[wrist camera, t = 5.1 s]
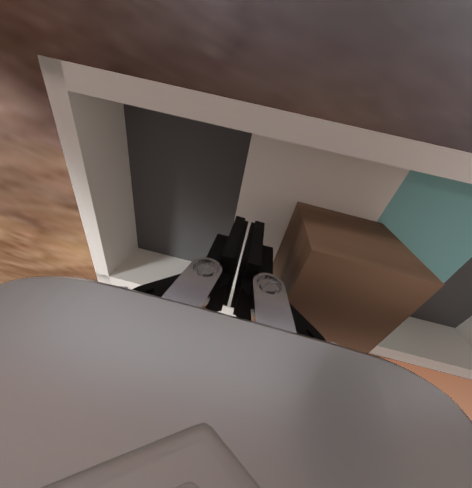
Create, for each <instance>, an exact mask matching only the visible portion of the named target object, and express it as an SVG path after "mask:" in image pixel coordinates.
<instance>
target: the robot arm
mask: <svg viewBox="0 0 472 488" xmlns="http://www.w3.org/2000/svg"><path fill="white" fill-rule="evenodd" d="M245 219H246V218H243V217H239V216H236V218H235V221H234V224H233V226H232V229H231V231H230V234H229V236H226V235H222V234H217V236H216V238H215V240H214V242H213V244H212V246H211V248H210V250H209V252H208V255H207V257H202V258H197V259H195V260H193V261H192V262H191V263H190V264H189V265H188V267H187V268H186V269H185V270H184V271H183V272H182V273H181V274H178V275H174V276H171V277H167V278H164V279H161V280H157V281H154V282H151V283H147V284H144V285H140V286H138V287H136V288H134V289H132V290H131V289H128V287H122V286H115V285H111V284H106V283H102V282H97V281H93V280H88V279H82V278H75V277H64V276H36V277H27V278H21V279H15V280H11V281H8V282H5V283H2V284H0V488H472V421H471V420H470V419H469V418H468V416H467V415H466V414H465V413H464V412H463V411H462V409H461V408H460V407H459V406H458V405H457V404H456V403H455V402H454V401H453V400H452V399H451V398H450V397H449V396H448V395H446V394H445V393H444V392H442V391H441V390H440V389H438V388H437V387H436V386H434V385H433V384H431V383H430V382H428V381H427V380H425V379H423V378H422V377H420V376H418V375H416V374H415V373H413V372H411V371H409V370H407V369H405V368H403V367H401V366H399V365H397V364H395V363H392V362H390V361H387V360H385V359H382V358H379V357H377V356H374V355H371V354H367V353H364V352H361V351H358V350H354V349H351V348H348V347H345V346H341V345H338V344H336V343H334V342H332V341H330V342H327V341H326V340H325V338H324V337H323V336H322V335H321V333H320V332H319V331H318V330H317V329H316V328H315V327H314V326H313V325H311V324H310V323H309V322H308V321H307V320H306V319H305V318H304V317H303V316H302V315H301V314H300V313H299V312H298V311H297V310H296V309H295V308H294V307H293V306H292V305H291V304H290V303H289V300H288V296H287V293H286V289H285V285H284V283H283V282H282V281H281V279H279V278H278V277H277V276H275V275H273V247H269V246H265V245H263V238H264V227H265V223H263V222H259V221H255V223H253V222H251V225H250V229H249V233H248V236H247V240H246V244H245V248H244V251H243V255H242V259H241V263H240V267H239V271H238V276H237V280H236V284H235V289H234V293H233V297H232V302H231V306H230V307H232V308H234V311H233V315H236V317H235V316H231V315H227V314H223V313H220V312H218V311H222V307H223V305H225V306H227V304H228V300H229V297H230V293H231V289H232V285H233V281H234V278H235V274H236V270H237V266H238V262H239V258H240V254H241V250H242V246H243V242H244V238H245V234H246V230H247V226H248V222H249V221H245Z"/></svg>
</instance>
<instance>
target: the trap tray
mask: <svg viewBox="0 0 472 488" xmlns="http://www.w3.org/2000/svg"><path fill="white" fill-rule="evenodd" d="M37 56H38V60H39V64H40V68H41V71H42V75H43V79H44V82H45V86H46V90H47V94H48V97H49V101H50V105H51V108H52V112H53V116H54V119H55V123H56V127H57V131H58V134H59V138H60V142H61V145H62V149H63V153H64V157H65V160H66V164H67V168H68V171H69V175H70V179H71V182H72V186H73V190H74V194H75V197H76V201H77V205H78V208H79V212H80V216H81V220H82V223H83V227H84V231H85V234H86V238H87V242H88V245H89V249H90V253H91V257H92V260H93V264H94V268H95V271H96V275H97V279H98V282H102V283H106V284H111V285H115V286H122V287H128V289H131V290H132V289H134V288H136V287H138V286H140V285H144V284H147V283H151V282H154V281H157V280H161V279H164V278H167V277H171V276H174V275H178V274H181V273H182V272H183V271H184V270H185V269H186V268H187V267H188V265H189V264H190V263H191V262H192V261H193V260H195V259H197V258H202V257H207V255H208V252H209V250H210V248H211V246H212V244H213V242H214V240H215V238H216V236H217V234H222V235H226V236H229V234H230V231H231V229H232V226H233V224H234V221H235V218H236V216H239V217H243V218H246V219H245V221H249V222H248V226H247V230H246V234H245V238H244V242H243V246H242V250H241V254H240V258H239V262H238V266H237V270H236V274H235V278H234V281H233V285H232V289H231V293H230V297H229V300H228V304H227V306H225V305H223V307H222V311H218V312H220V313H223V314H227V315H231V316H235V317H236V315H233V311H234V308H232V307H230V306H231V302H232V297H233V293H234V289H235V284H236V280H237V276H238V271H239V267H240V263H241V259H242V255H243V251H244V248H245V244H246V240H247V236H248V233H249V229H250V225H251V222H253V223H255V221H259V222H263V223H265V227H264V238H263V245H265V246H269V247H273V261H274V259H275V256H276V254H277V251H278V249H279V246H280V244H281V241H282V239H283V237H284V234H285V232H286V229H287V227H288V224H289V222H290V219H291V217H292V214H293V212H294V209H295V207H296V204H297V202H302V203H306V204H310V205H314V206H317V207H321V208H325V209H329V210H333V211H337V212H341V213H345V214H348V215H352V216H356V217H360V218H364V219H368V220H372V221H376V222H379V223H383V224H384V225H385V226H386V227H387V228H388V229H389V230H390V231H391V232H392V233H393V234H394V235H395V236H396V237H397V238H398V239H399V240H400V241H401V242H402V243H403V244H404V245H405V246H406V247H407V248H408V249H409V250H410V251H411V252H412V253H413V254H414V255H415V256H416V257H417V258H418V259H419V260H420V261H421V262H422V263H423V264H424V265H425V266H426V267H427V268H428V269H430V270H431V271H432V272H433V273H434V274H435V275H436V276H437V277H438V278H439V279H440V280H441V281H442V282H443V283H444V284H445V285H444V286H443V287H442V288H440V289H439V290H438V291H437V292H436V293H435V294H434V295H433V296H432V297H430V298H429V299H428V300H427V301H426V302H425V303H424V304H423V305H421V306H420V307H419V308H418V309H417V310H416V311H415V312H414V313H413V314H411V315H410V316H409V317H408V318H407V319H406V320H405V321H404V322H403V323H401V324H400V325H399V326H398V327H397V328H396V329H395V330H394V331H393V332H391V333H390V334H389V335H388V336H387V337H386V338H385V339H384V340H383V341H381V342H380V343H379V344H378V345H377V346H376V347H375V348H374V349H373V350H371V351H370V352H369V353H371V354H375V355H379V356H382V357H386V358H390V359H394V360H398V361H402V362H405V363H409V364H413V365H417V366H421V367H425V368H429V369H433V370H436V371H440V372H444V373H448V374H452V375H456V376H459V377H463V378H467V379H471V380H472V153H469V152H465V151H461V150H456V149H452V148H447V147H443V146H438V145H434V144H430V143H425V142H421V141H416V140H412V139H408V138H403V137H399V136H394V135H390V134H385V133H381V132H377V131H372V130H368V129H363V128H359V127H355V126H350V125H346V124H341V123H337V122H332V121H328V120H324V119H319V118H315V117H310V116H306V115H302V114H297V113H293V112H288V111H284V110H279V109H275V108H271V107H266V106H262V105H257V104H253V103H249V102H244V101H240V100H235V99H231V98H226V97H222V96H218V95H213V94H209V93H204V92H200V91H196V90H191V89H187V88H182V87H178V86H173V85H169V84H165V83H160V82H156V81H151V80H147V79H143V78H138V77H134V76H129V75H125V74H120V73H116V72H112V71H107V70H103V69H98V68H94V67H90V66H85V65H81V64H76V63H72V62H68V61H63V60H59V59H54V58H50V57H45V56H41V55H37Z"/></svg>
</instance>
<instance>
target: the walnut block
mask: <svg viewBox="0 0 472 488" xmlns="http://www.w3.org/2000/svg"><path fill="white" fill-rule="evenodd" d="M273 275H275V276H277V277H278V278H279V279H281V281H282V282H283V283H284V285H285V289H286V293H287V296H288V300H289V303H290V304H291V305H292V306H293V307H294V308H295V309H296V310H297V311H298V312H299V313H300V314H301V315H302V316H303V317H304V318H305V319H306V320H307V321H308V322H309V323H310V324H311V325H313V326H314V327H315V328H316V329H317V330H318V331H319V332H320V333H321V335H322V336H323V337H324V338H325V340H326V341H327V342H330V341H332V342H334V343H336V344H338V345H341V346H345V347H348V348H351V349H354V350H358V351H361V352H364V353H367V354H368V353H369V352H370V351H371V350H373V349H374V348H375V347H376V346H377V345H378V344H379V343H380V342H381V341H383V340H384V339H385V338H386V337H387V336H388V335H389V334H390V333H391V332H393V331H394V330H395V329H396V328H397V327H398V326H399V325H400V324H401V323H403V322H404V321H405V320H406V319H407V318H408V317H409V316H410V315H411V314H413V313H414V312H415V311H416V310H417V309H418V308H419V307H420V306H421V305H423V304H424V303H425V302H426V301H427V300H428V299H429V298H430V297H432V296H433V295H434V294H435V293H436V292H437V291H438V290H439V289H440V288H442V287H443V286H444V285H445V284H444V283H443V282H442V281H441V280H440V279H439V278H438V277H437V276H436V275H435V274H434V273H433V272H432V271H431V270H430V269H428V268H427V267H426V266H425V265H424V264H423V263H422V262H421V261H420V260H419V259H418V258H417V257H416V256H415V255H414V254H413V253H412V252H411V251H410V250H409V249H408V248H407V247H406V246H405V245H404V244H403V243H402V242H401V241H400V240H399V239H398V238H397V237H396V236H395V235H394V234H393V233H392V232H391V231H390V230H389V229H388V228H387V227H386V226H385V225H384V224H383V223H379V222H376V221H372V220H368V219H364V218H360V217H356V216H352V215H348V214H345V213H341V212H337V211H333V210H329V209H325V208H321V207H317V206H314V205H310V204H306V203H302V202H297V204H296V207H295V209H294V212H293V214H292V217H291V219H290V222H289V224H288V227H287V229H286V232H285V234H284V237H283V239H282V241H281V244H280V246H279V249H278V251H277V254H276V256H275V259H274V261H273Z"/></svg>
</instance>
